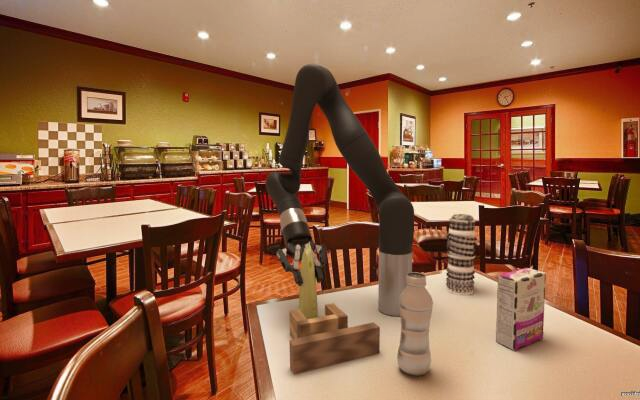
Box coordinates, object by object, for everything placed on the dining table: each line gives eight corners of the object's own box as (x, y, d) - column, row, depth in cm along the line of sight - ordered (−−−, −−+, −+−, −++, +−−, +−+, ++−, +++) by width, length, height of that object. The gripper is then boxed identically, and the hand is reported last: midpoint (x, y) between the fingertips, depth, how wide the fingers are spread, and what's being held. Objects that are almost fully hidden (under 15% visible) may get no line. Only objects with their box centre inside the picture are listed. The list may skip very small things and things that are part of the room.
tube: (323, 319, 89) (321, 245, 86) (306, 324, 86) (304, 249, 84) (311, 311, 94) (309, 241, 91) (295, 316, 91) (292, 244, 88)
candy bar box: (522, 330, 86) (526, 266, 84) (543, 339, 81) (547, 272, 80) (493, 341, 81) (496, 274, 79) (514, 352, 76) (518, 280, 74)
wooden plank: (373, 347, 79) (373, 322, 78) (379, 352, 76) (379, 327, 76) (290, 367, 71) (289, 339, 71) (293, 374, 69) (293, 345, 68)
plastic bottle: (392, 362, 73) (394, 270, 71) (423, 360, 73) (426, 269, 71) (402, 381, 66) (404, 281, 64) (436, 379, 67) (439, 279, 65)
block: (333, 325, 89) (333, 303, 89) (347, 339, 82) (347, 315, 81) (289, 334, 85) (289, 311, 84) (300, 350, 77) (299, 325, 77)
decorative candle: (439, 286, 116) (441, 213, 113) (462, 284, 118) (465, 212, 115) (455, 297, 107) (458, 218, 104) (481, 294, 109) (484, 216, 107)
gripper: (272, 222, 91) (285, 280, 82) (322, 218, 97) (340, 272, 87) (268, 237, 97) (280, 293, 87) (315, 233, 102) (332, 285, 92)
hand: (310, 282), depth 87 cm, fingers closed on tube, 4 cm apart
